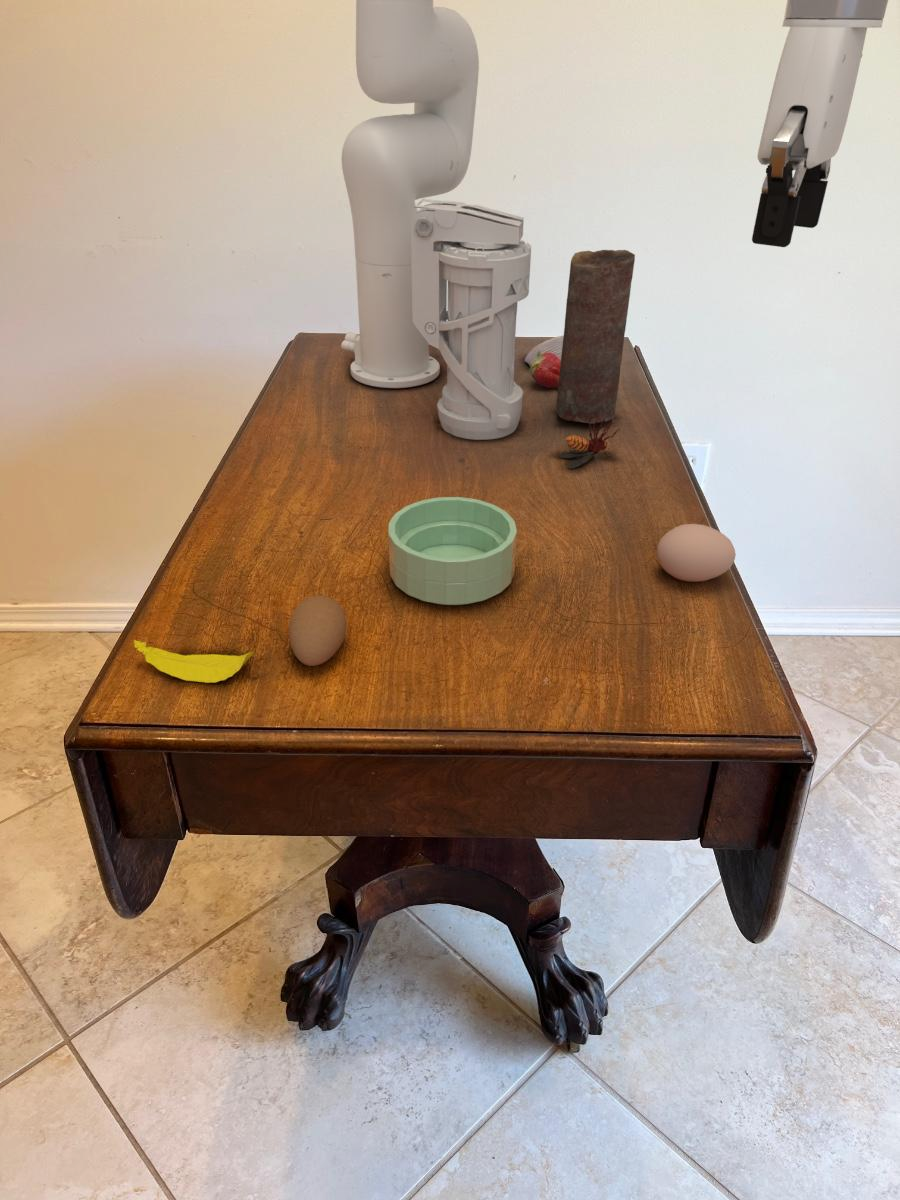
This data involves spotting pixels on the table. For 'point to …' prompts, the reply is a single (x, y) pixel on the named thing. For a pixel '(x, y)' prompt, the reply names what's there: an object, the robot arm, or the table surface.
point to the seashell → (546, 349)
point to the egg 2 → (695, 552)
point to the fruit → (546, 370)
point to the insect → (586, 446)
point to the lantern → (471, 310)
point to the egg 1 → (317, 629)
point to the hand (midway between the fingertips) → (785, 234)
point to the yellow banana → (193, 664)
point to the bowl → (452, 550)
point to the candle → (594, 334)
